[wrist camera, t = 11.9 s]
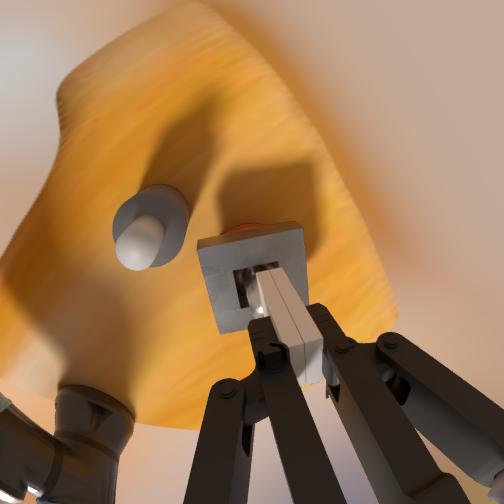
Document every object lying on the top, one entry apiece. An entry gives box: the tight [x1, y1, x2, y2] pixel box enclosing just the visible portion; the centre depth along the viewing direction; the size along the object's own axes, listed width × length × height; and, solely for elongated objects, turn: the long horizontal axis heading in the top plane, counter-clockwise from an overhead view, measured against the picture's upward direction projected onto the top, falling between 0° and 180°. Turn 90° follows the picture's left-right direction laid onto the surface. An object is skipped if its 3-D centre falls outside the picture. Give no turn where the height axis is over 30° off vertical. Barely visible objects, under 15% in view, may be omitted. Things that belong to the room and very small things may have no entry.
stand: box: [113, 184, 190, 271], centre depth 21 cm, size 6×6×10 cm
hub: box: [223, 223, 275, 319], centre depth 25 cm, size 8×8×9 cm
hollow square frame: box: [197, 221, 309, 335], centre depth 25 cm, size 9×9×2 cm
